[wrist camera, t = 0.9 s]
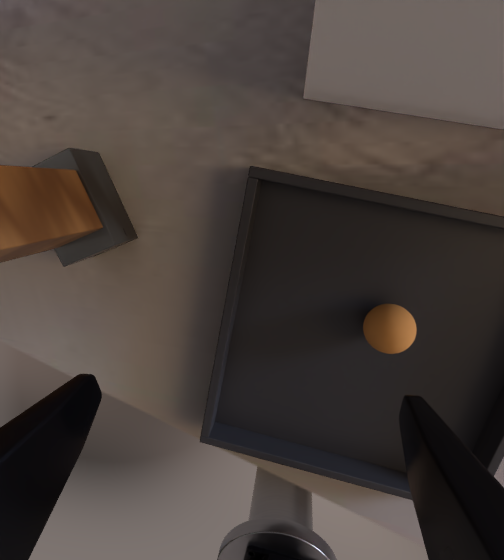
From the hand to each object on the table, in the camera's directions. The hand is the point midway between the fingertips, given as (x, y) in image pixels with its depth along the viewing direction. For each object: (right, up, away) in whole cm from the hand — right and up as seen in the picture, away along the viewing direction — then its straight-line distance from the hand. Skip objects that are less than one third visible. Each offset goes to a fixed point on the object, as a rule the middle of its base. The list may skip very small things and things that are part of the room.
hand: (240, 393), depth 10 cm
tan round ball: (+9, 0, +11) cm, 14 cm away
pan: (+8, -1, +13) cm, 16 cm away
